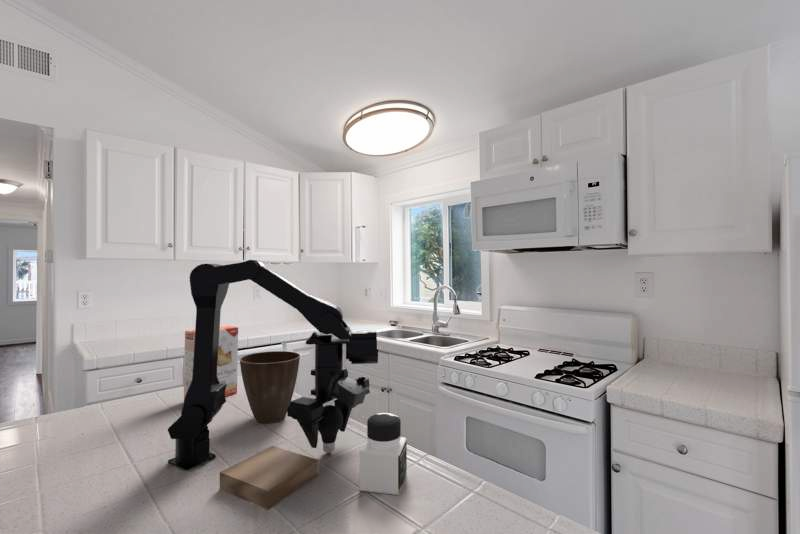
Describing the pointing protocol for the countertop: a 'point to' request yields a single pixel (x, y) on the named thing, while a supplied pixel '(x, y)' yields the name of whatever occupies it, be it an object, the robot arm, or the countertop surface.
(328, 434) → the light bulb
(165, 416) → the countertop surface
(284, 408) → the plant pot
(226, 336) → the cracker box
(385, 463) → the medicine bottle
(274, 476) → the walnut base
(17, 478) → the countertop surface
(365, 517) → the countertop surface
